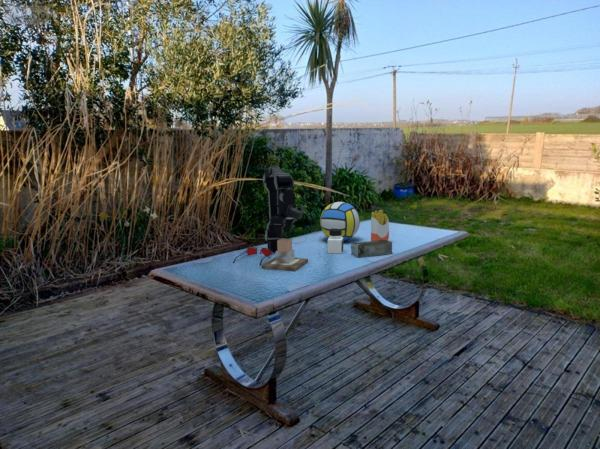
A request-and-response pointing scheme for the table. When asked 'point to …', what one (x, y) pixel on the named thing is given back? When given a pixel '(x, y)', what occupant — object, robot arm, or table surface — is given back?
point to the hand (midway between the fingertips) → (284, 236)
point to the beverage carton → (371, 248)
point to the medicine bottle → (335, 241)
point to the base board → (284, 267)
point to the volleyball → (340, 219)
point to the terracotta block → (284, 245)
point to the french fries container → (379, 226)
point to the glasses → (254, 251)
